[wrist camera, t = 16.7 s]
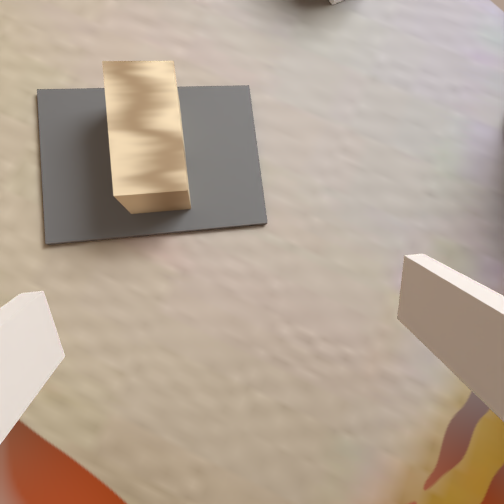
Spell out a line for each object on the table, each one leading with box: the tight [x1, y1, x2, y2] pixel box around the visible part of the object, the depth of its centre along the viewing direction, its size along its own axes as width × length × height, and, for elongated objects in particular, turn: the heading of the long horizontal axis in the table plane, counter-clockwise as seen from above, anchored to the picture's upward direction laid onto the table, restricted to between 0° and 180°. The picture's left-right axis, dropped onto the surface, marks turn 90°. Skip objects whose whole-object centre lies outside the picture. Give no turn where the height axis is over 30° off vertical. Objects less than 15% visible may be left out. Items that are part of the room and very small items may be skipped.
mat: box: [37, 85, 267, 245], centre depth 32 cm, size 22×16×1 cm
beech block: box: [102, 61, 191, 214], centre depth 29 cm, size 6×6×12 cm
